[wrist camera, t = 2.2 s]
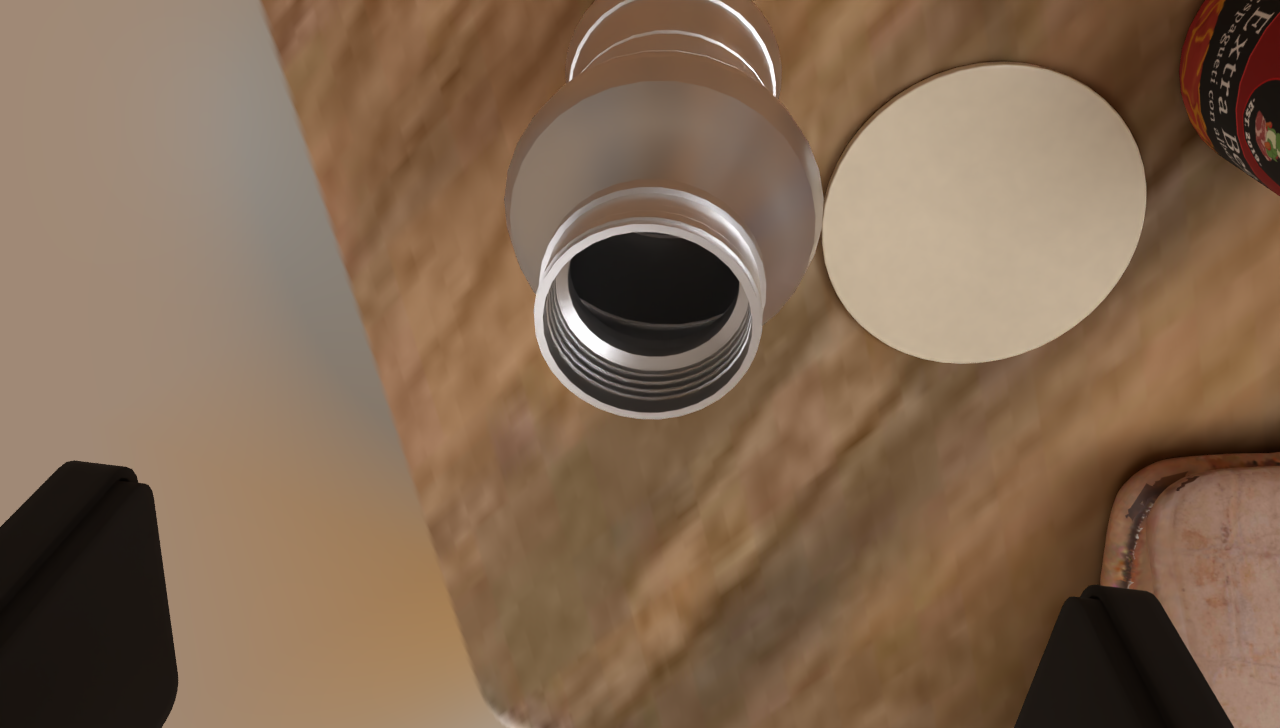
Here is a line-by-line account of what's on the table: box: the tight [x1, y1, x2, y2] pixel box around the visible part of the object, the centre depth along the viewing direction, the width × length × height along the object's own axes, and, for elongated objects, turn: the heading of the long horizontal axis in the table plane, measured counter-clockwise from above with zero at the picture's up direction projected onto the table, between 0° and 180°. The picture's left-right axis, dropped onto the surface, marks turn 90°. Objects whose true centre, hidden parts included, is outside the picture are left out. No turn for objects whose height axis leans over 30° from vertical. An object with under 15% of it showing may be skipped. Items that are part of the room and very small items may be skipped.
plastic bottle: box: [504, 0, 824, 419], centre depth 25 cm, size 6×7×20 cm
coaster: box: [821, 61, 1146, 364], centre depth 36 cm, size 11×11×1 cm
